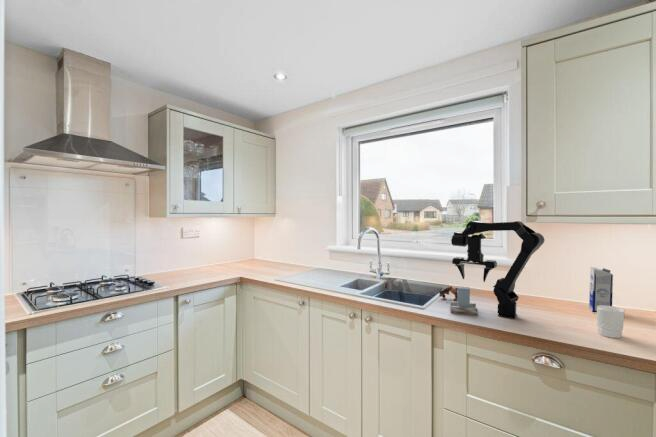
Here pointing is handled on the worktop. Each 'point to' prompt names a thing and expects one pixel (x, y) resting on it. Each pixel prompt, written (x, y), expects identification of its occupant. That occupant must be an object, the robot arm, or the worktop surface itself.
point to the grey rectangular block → (463, 297)
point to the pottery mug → (446, 291)
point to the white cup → (610, 321)
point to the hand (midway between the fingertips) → (473, 280)
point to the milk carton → (600, 288)
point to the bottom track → (463, 309)
